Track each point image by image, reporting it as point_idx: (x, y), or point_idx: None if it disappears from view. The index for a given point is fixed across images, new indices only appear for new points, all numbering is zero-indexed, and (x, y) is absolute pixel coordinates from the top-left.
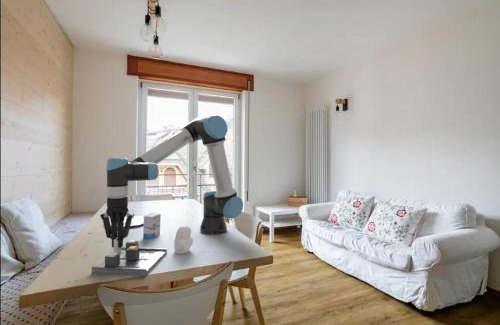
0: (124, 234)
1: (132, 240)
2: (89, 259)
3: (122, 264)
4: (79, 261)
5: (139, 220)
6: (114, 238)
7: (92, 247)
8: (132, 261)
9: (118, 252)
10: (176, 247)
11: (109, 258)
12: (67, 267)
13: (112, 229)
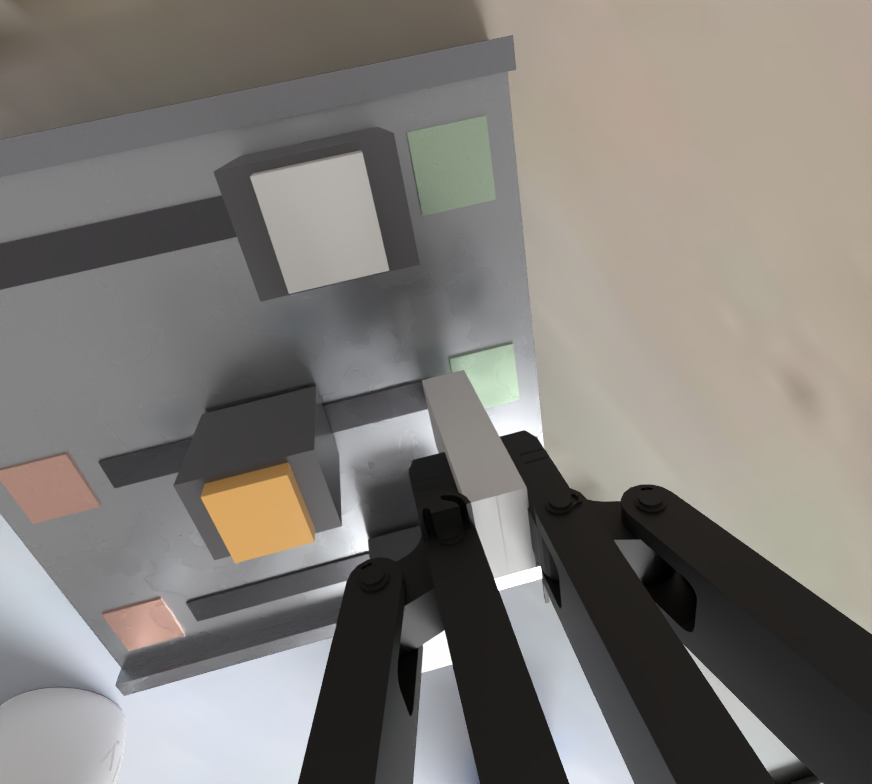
0: (358, 627)
1: (442, 649)
2: (724, 337)
3: None
4: (787, 273)
5: None
6: (536, 519)
7: (825, 519)
8: (221, 383)
9: (433, 421)
10: (32, 740)
11: (318, 149)
12: (827, 117)
13: (642, 639)
